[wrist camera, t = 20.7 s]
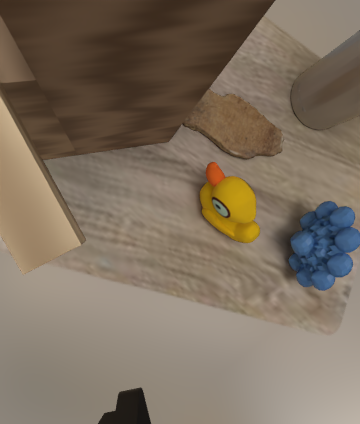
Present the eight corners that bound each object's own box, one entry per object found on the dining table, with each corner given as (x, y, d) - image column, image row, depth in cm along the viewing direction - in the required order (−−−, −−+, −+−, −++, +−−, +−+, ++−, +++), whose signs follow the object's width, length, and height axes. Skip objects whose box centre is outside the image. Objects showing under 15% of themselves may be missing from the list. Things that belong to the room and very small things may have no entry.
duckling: (176, 185, 42) (195, 175, 32) (205, 162, 43) (233, 145, 33) (225, 249, 43) (257, 259, 34) (252, 225, 44) (292, 228, 35)
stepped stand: (153, 61, 42) (278, -410, 10) (168, 141, 42) (335, -81, 11) (-46, 78, 36) (-991, -757, 5) (-26, 170, 37) (-815, -98, 5)
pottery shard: (200, 74, 43) (203, 68, 42) (286, 136, 46) (293, 132, 45) (172, 120, 43) (175, 116, 41) (262, 180, 45) (268, 178, 44)
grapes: (273, 198, 45) (329, 192, 33) (313, 205, 47) (381, 202, 35) (262, 278, 45) (316, 299, 33) (303, 282, 46) (369, 305, 34)
